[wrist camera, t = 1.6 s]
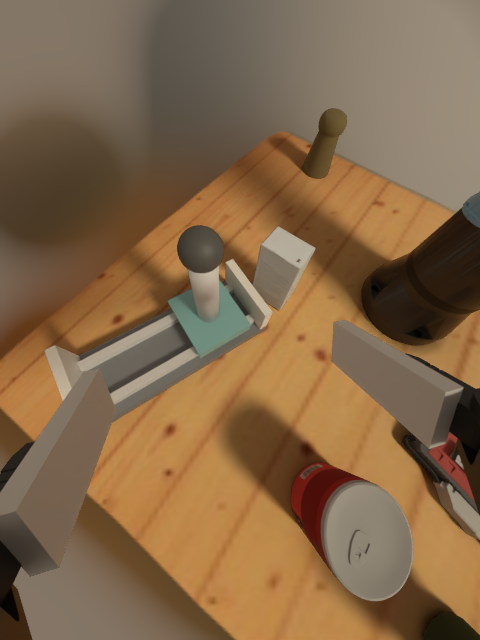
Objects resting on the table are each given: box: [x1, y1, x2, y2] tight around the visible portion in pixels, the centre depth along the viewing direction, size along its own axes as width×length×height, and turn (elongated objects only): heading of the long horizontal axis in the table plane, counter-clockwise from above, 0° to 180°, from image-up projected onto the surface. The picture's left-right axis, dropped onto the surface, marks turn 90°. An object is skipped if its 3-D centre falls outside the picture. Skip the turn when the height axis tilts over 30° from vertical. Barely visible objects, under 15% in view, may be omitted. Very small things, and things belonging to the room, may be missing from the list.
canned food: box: [291, 463, 413, 601], centre depth 25 cm, size 8×8×11 cm
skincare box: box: [252, 226, 315, 310], centre depth 35 cm, size 6×4×12 cm
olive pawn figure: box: [302, 109, 347, 179], centre depth 49 cm, size 6×6×11 cm
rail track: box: [44, 259, 273, 422], centre depth 33 cm, size 26×10×7 cm, turn 123°
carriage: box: [168, 225, 251, 358], centre depth 26 cm, size 8×9×17 cm
